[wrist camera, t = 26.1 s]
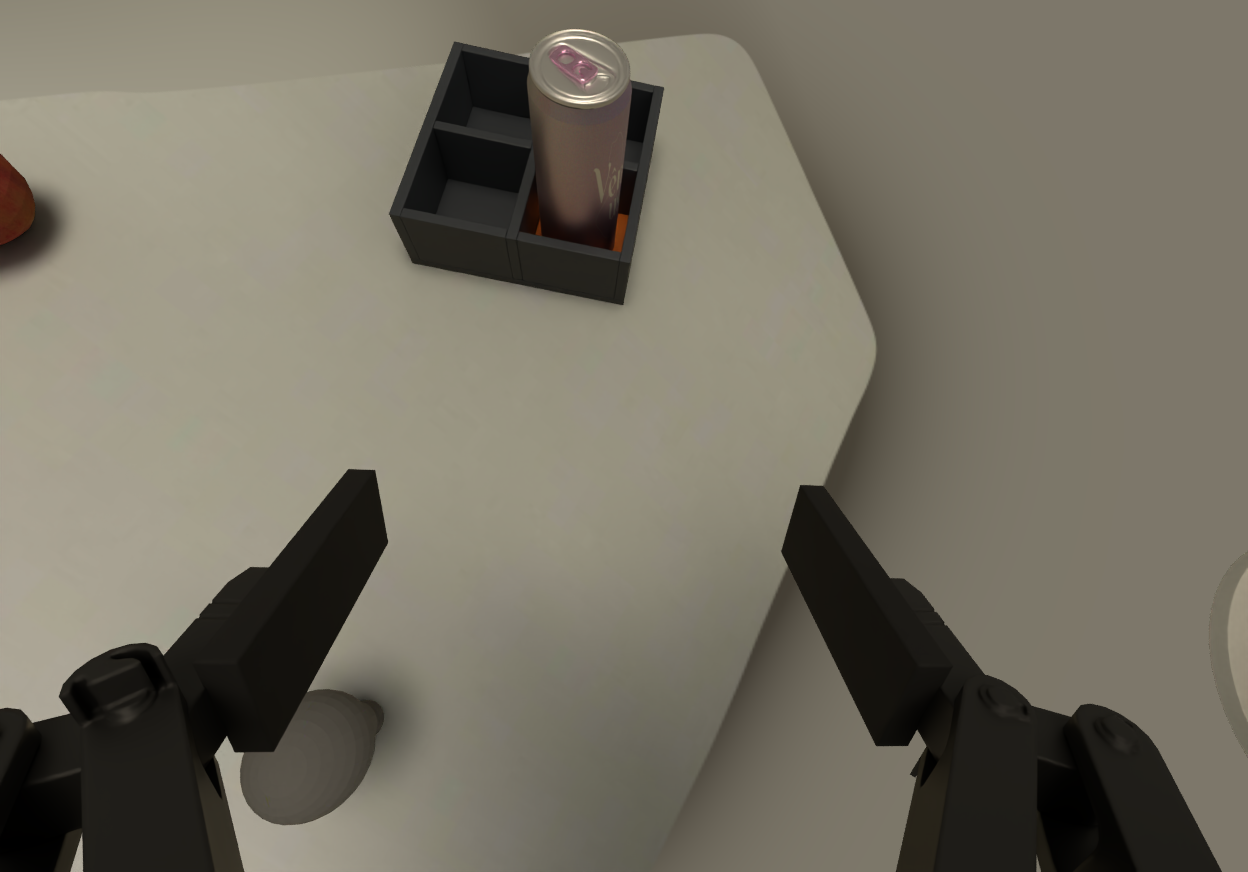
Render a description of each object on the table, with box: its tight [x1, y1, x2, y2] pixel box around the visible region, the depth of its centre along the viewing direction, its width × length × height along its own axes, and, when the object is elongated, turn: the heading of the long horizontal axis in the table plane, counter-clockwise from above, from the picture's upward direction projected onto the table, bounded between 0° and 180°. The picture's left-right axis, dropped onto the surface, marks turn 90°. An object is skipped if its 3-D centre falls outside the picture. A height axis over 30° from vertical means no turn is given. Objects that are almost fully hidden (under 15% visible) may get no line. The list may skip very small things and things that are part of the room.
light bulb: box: [240, 689, 384, 825], centre depth 27 cm, size 6×6×10 cm
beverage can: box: [527, 29, 632, 250], centre depth 35 cm, size 6×6×15 cm
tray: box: [389, 42, 664, 305], centre depth 41 cm, size 17×17×6 cm
